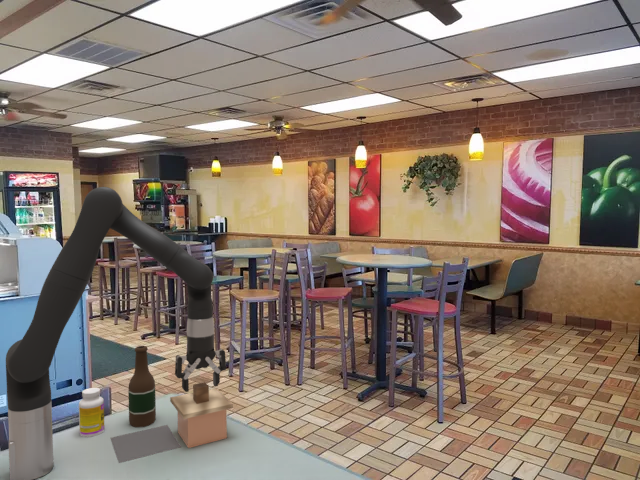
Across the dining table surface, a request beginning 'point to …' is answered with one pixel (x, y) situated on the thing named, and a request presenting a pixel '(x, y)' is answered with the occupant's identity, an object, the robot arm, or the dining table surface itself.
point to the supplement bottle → (91, 413)
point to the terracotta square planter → (203, 428)
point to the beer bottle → (142, 392)
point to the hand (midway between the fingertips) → (201, 388)
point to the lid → (200, 401)
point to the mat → (144, 443)
